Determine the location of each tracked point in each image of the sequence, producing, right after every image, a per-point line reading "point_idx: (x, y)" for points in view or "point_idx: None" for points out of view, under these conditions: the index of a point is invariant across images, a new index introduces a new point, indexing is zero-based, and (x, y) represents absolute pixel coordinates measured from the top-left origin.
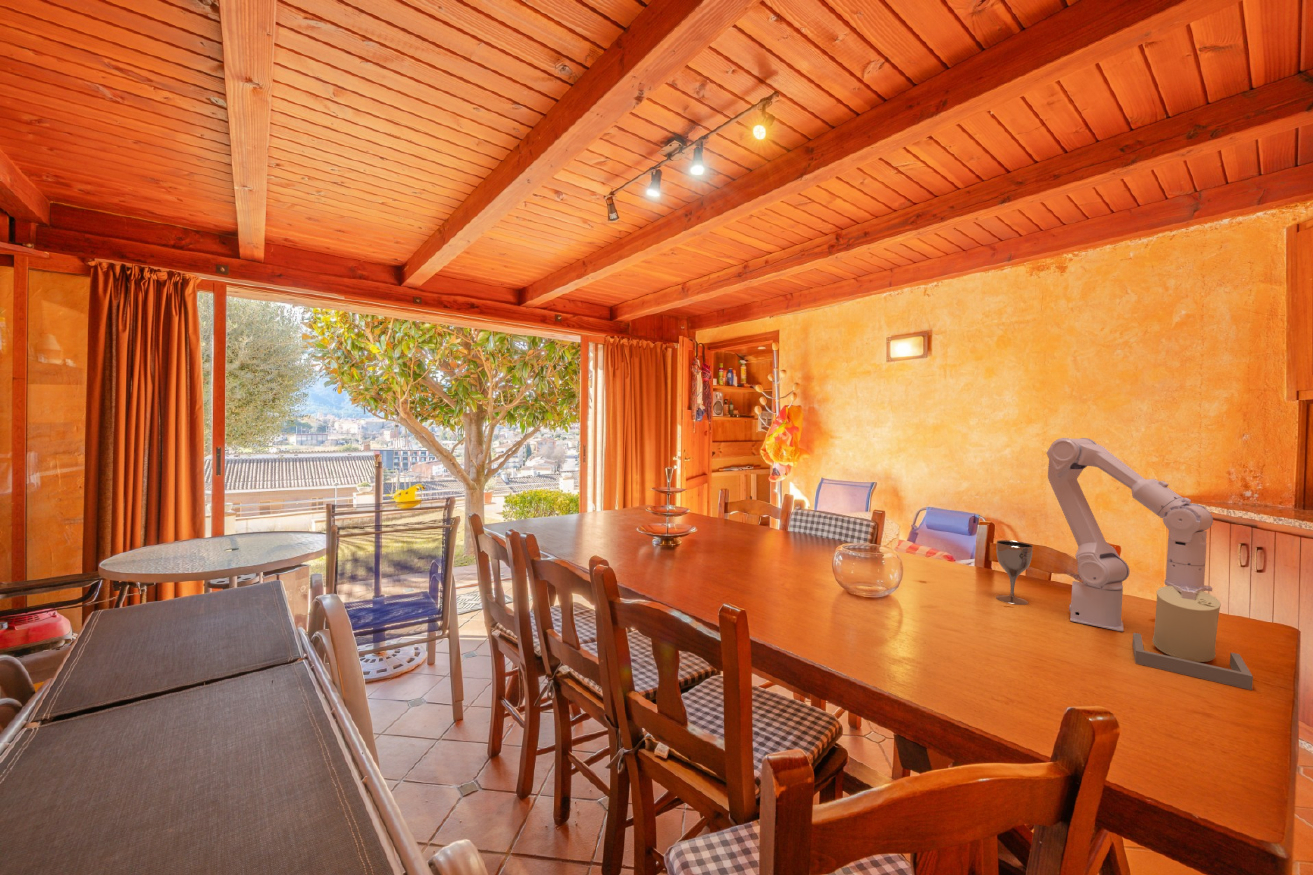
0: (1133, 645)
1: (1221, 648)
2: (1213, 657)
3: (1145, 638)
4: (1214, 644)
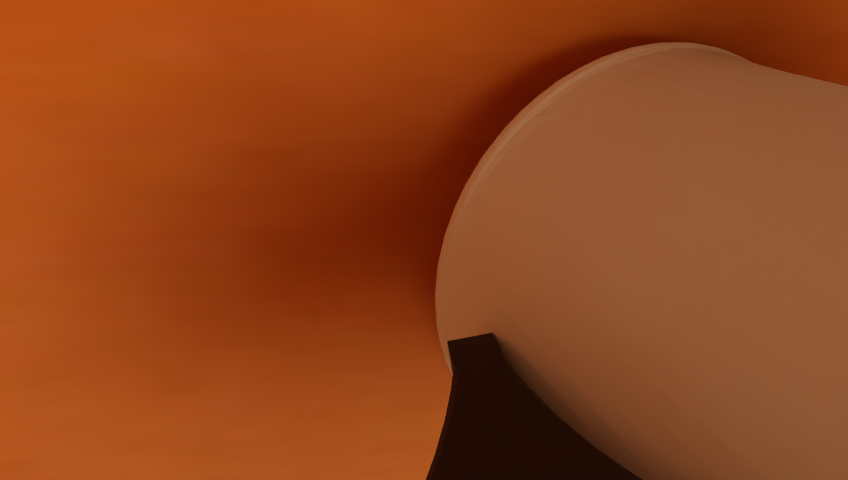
0: None
1: (103, 13)
2: (727, 51)
3: (423, 458)
4: (824, 81)
